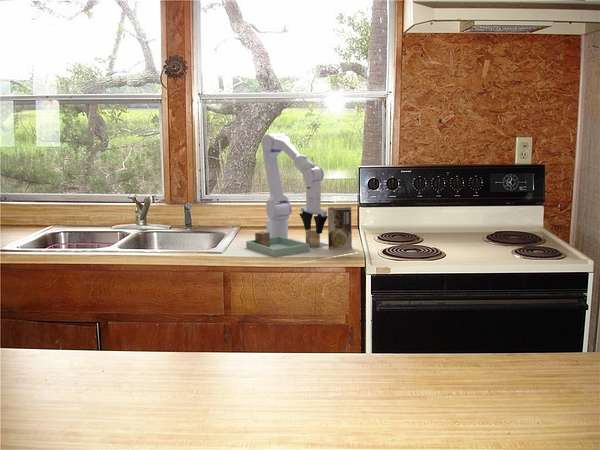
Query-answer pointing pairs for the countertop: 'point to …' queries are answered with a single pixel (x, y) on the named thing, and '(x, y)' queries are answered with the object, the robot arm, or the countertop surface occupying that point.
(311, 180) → the robot arm
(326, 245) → the mat
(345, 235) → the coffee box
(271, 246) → the bin
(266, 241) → the walnut block
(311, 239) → the oak block
